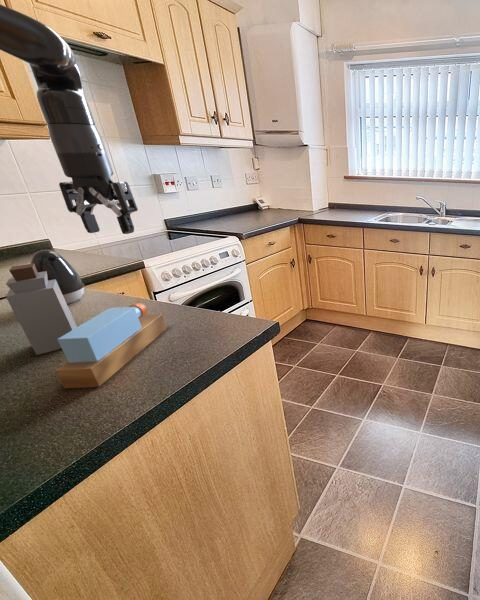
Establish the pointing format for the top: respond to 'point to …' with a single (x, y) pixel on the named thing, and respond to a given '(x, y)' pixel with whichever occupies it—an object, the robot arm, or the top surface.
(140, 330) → the wooden board
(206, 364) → the top surface
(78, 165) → the robot arm
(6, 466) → the top surface
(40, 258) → the pump dispenser
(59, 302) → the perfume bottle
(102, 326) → the light blue bottle
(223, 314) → the top surface
